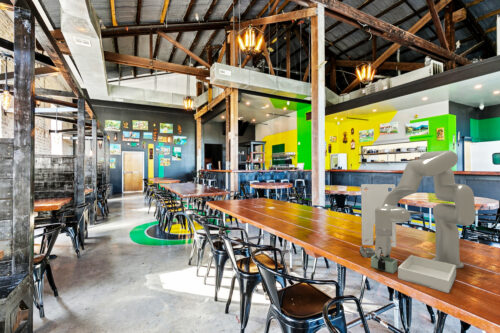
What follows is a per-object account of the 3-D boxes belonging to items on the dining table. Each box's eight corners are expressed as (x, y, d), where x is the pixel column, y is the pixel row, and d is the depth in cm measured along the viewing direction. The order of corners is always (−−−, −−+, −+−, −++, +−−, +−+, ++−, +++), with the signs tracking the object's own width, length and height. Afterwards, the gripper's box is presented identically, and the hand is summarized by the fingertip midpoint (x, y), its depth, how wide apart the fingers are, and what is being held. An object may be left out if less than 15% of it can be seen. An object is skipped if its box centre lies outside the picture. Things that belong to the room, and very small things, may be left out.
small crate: (375, 263, 125) (375, 254, 125) (397, 269, 117) (397, 259, 117) (371, 267, 120) (371, 257, 120) (393, 273, 113) (393, 263, 113)
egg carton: (359, 251, 144) (359, 244, 144) (372, 252, 142) (372, 245, 142) (361, 257, 134) (361, 250, 134) (376, 259, 132) (376, 251, 132)
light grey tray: (410, 264, 123) (410, 255, 123) (456, 275, 110) (456, 265, 110) (398, 278, 108) (397, 267, 108) (448, 293, 95) (448, 280, 95)
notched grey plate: (388, 240, 165) (387, 183, 165) (396, 246, 151) (395, 184, 151) (357, 238, 169) (356, 182, 170) (362, 244, 155) (361, 184, 156)
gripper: (381, 227, 128) (381, 260, 128) (369, 233, 116) (369, 270, 116) (397, 230, 122) (397, 264, 122) (385, 237, 110) (386, 275, 110)
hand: (384, 267), depth 119 cm, fingers closed on small crate, 6 cm apart
